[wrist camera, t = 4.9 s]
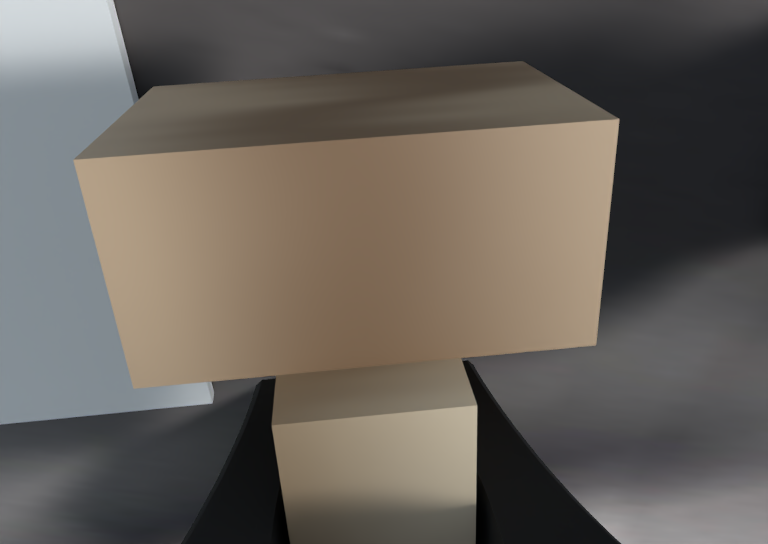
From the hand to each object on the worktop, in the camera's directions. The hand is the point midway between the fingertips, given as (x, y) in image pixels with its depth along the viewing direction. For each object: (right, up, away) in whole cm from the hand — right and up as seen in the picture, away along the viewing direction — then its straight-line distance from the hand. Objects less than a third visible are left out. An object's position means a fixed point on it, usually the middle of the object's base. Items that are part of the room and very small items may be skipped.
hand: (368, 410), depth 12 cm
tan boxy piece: (0, 0, +2) cm, 2 cm away
